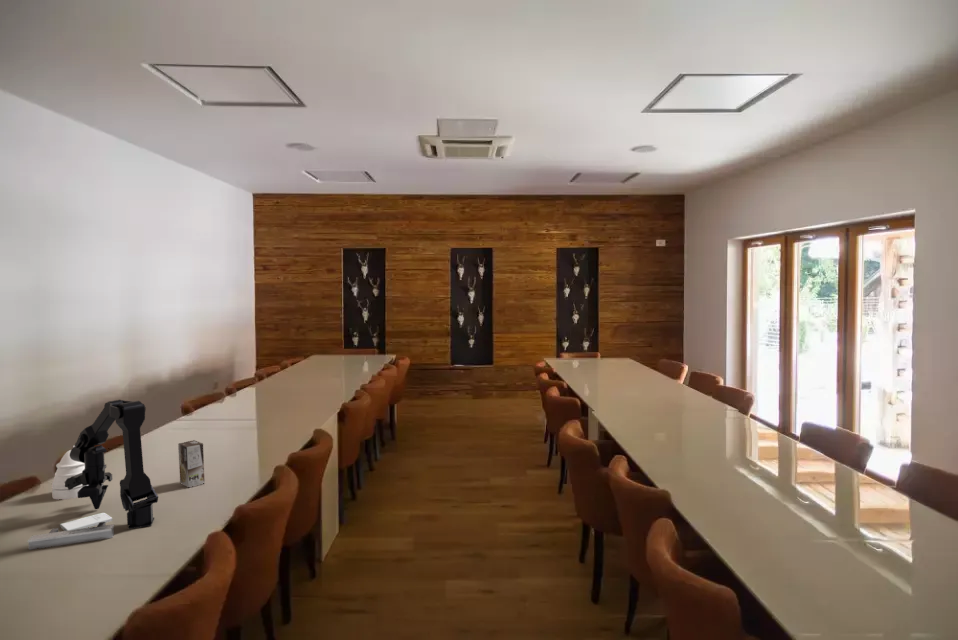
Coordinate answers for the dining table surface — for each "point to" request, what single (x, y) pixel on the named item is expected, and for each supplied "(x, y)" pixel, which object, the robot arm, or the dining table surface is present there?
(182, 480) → the coffee box
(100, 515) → the external hard drive
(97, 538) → the grey door handle
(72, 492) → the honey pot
